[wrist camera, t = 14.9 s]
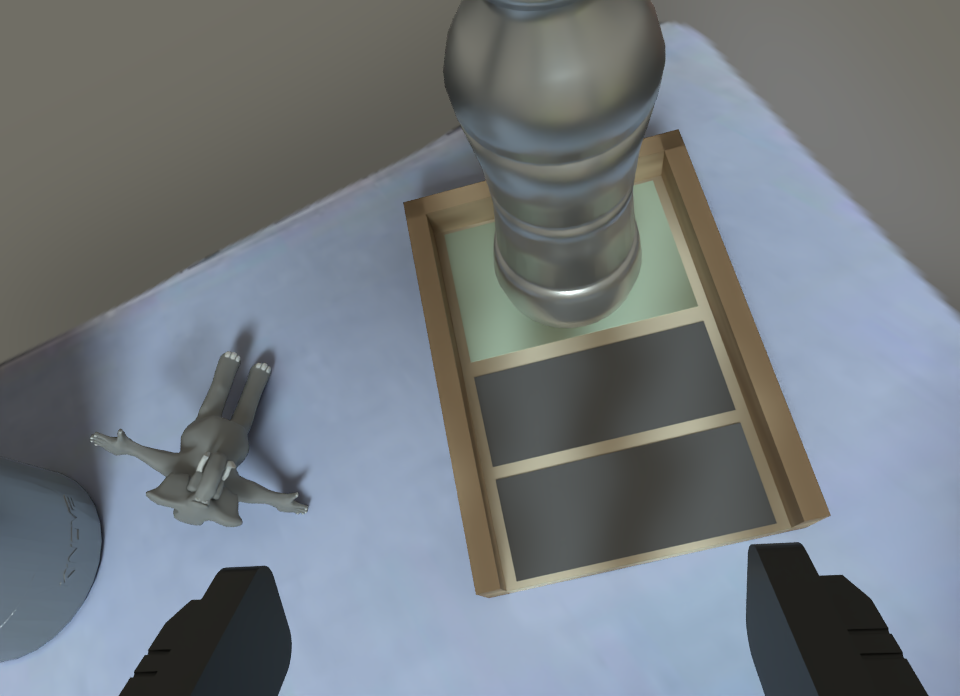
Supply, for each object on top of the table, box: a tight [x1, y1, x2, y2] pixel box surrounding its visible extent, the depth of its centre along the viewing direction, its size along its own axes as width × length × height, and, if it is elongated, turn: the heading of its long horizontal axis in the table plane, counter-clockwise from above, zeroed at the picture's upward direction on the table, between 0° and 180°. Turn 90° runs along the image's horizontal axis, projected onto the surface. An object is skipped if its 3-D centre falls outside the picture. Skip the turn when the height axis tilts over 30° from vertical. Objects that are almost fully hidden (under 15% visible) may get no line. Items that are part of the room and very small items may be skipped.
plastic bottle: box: [443, 0, 665, 328], centre depth 25 cm, size 6×7×20 cm
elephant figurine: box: [90, 351, 308, 527], centre depth 33 cm, size 10×6×9 cm
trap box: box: [403, 129, 831, 598], centre depth 33 cm, size 14×19×4 cm
